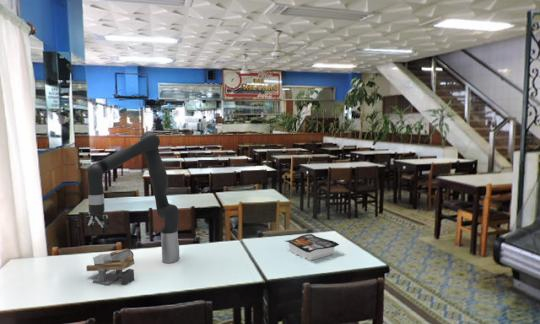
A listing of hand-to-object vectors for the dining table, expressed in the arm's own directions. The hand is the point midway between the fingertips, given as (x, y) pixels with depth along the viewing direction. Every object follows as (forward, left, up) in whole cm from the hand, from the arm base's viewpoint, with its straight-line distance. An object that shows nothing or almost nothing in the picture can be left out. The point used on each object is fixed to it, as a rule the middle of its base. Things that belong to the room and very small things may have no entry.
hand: (97, 233), depth 199 cm
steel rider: (+2, +5, -16) cm, 17 cm away
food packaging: (-71, +94, -23) cm, 120 cm away
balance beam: (+2, +10, -17) cm, 19 cm away
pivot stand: (+2, +13, -23) cm, 26 cm away
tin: (-14, 0, -23) cm, 27 cm away
